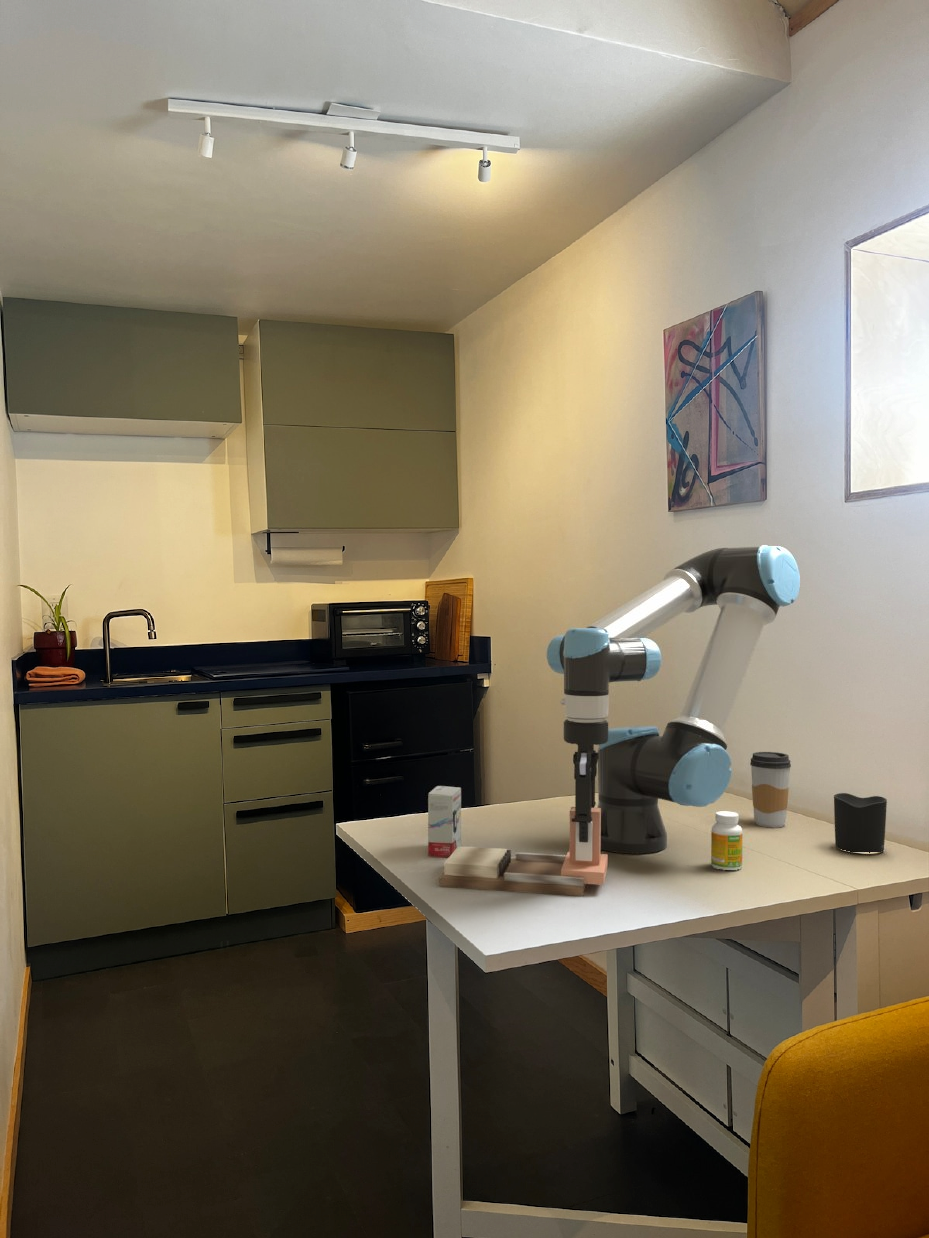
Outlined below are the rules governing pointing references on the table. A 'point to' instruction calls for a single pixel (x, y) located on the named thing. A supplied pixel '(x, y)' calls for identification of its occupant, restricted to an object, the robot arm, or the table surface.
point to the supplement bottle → (726, 842)
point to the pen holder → (859, 823)
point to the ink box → (444, 821)
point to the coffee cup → (770, 788)
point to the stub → (598, 866)
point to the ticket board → (508, 872)
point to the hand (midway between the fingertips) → (585, 855)
